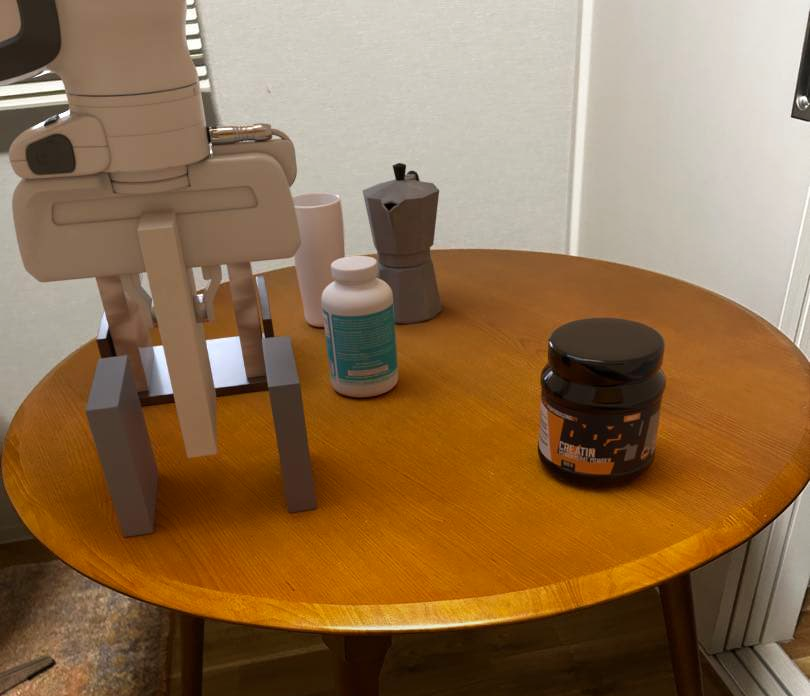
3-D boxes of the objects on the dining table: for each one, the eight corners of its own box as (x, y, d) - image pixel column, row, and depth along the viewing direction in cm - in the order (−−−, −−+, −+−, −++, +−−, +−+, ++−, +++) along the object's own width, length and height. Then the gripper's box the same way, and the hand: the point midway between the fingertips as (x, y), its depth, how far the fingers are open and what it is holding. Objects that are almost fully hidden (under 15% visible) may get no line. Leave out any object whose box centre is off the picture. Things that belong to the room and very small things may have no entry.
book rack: (115, 409, 91) (76, 271, 82) (125, 357, 102) (92, 231, 93) (282, 388, 93) (261, 251, 84) (273, 339, 104) (255, 214, 95)
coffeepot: (433, 332, 104) (428, 177, 93) (359, 329, 105) (346, 177, 95) (453, 288, 116) (450, 146, 105) (386, 286, 118) (377, 147, 107)
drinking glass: (362, 321, 108) (352, 199, 99) (316, 335, 105) (301, 210, 96) (335, 307, 112) (323, 188, 103) (290, 320, 109) (274, 199, 100)
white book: (187, 458, 68) (137, 229, 57) (189, 398, 76) (146, 189, 66) (217, 454, 68) (173, 226, 57) (216, 395, 77) (177, 187, 66)
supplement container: (514, 468, 77) (518, 345, 70) (574, 423, 83) (583, 305, 76) (617, 506, 71) (633, 376, 64) (674, 454, 78) (694, 330, 71)
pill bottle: (412, 383, 93) (406, 259, 85) (363, 407, 88) (352, 280, 80) (366, 365, 97) (356, 246, 89) (317, 387, 93) (302, 265, 85)
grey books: (123, 537, 71) (84, 410, 64) (131, 477, 79) (98, 358, 72) (317, 509, 73) (299, 383, 66) (306, 452, 81) (289, 334, 74)
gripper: (288, 113, 63) (308, 295, 71) (1, 135, 60) (56, 321, 68) (295, 129, 58) (316, 323, 66) (-18, 153, 55) (44, 352, 63)
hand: (181, 322), depth 67 cm, fingers closed on white book, 2 cm apart
